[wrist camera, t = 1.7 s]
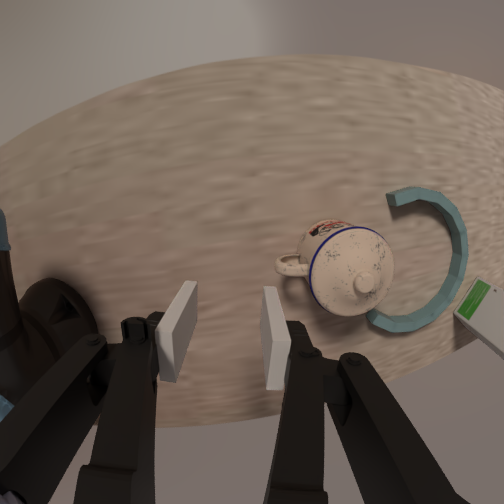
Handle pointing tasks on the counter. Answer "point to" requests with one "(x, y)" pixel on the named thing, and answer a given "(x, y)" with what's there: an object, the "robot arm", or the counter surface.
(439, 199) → the open curved ring
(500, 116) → the counter surface
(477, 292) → the skincare box
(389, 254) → the teacup with lid
